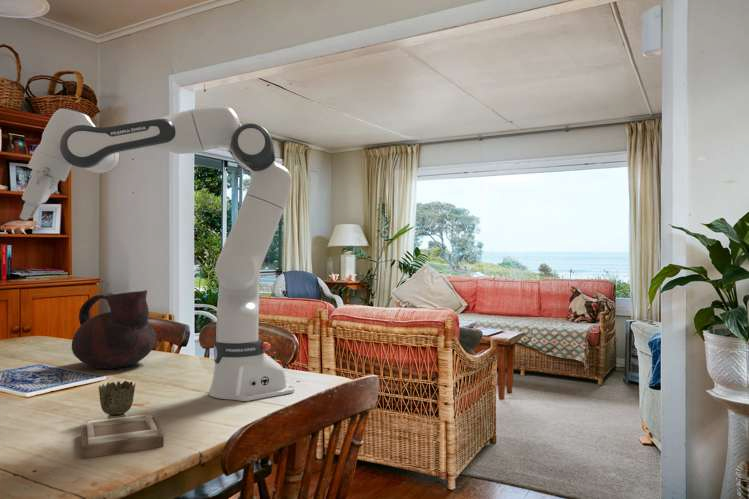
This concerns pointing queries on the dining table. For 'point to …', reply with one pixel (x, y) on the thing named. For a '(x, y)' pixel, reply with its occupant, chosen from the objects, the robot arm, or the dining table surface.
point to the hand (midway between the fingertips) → (25, 218)
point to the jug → (114, 331)
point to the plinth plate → (120, 435)
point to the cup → (116, 398)
